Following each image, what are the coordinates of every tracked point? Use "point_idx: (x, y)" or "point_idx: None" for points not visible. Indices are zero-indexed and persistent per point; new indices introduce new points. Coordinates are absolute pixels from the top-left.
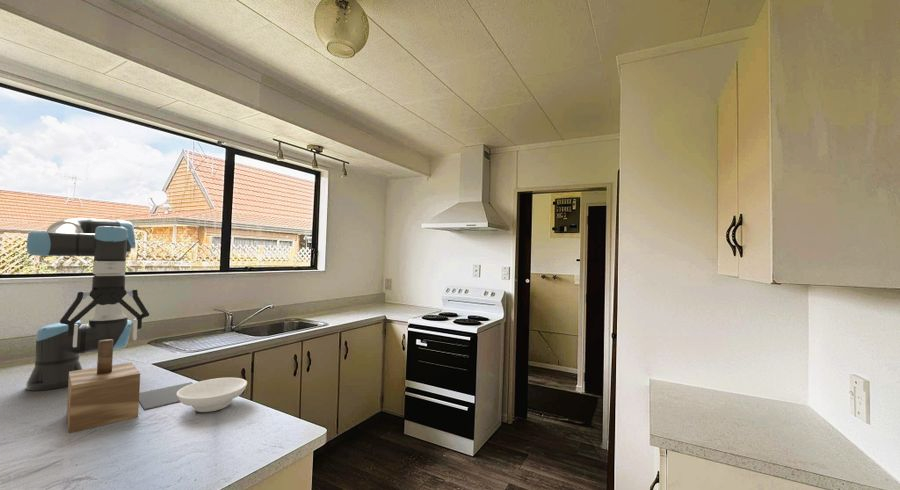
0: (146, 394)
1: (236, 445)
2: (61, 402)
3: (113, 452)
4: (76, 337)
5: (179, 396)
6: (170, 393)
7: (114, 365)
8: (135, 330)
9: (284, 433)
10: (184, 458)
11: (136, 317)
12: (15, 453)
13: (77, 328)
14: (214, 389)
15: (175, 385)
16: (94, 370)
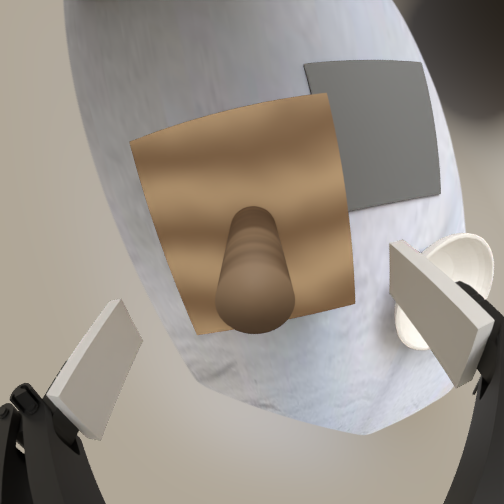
0: (333, 90)
1: (395, 397)
2: (145, 40)
3: (290, 372)
4: (122, 377)
5: (396, 326)
6: (384, 124)
7: (271, 118)
8: (423, 328)
9: (434, 387)
10: (352, 405)
11: (477, 392)
12: (164, 312)
13: (106, 420)
14: (456, 243)
15: (390, 61)
16: (211, 169)
